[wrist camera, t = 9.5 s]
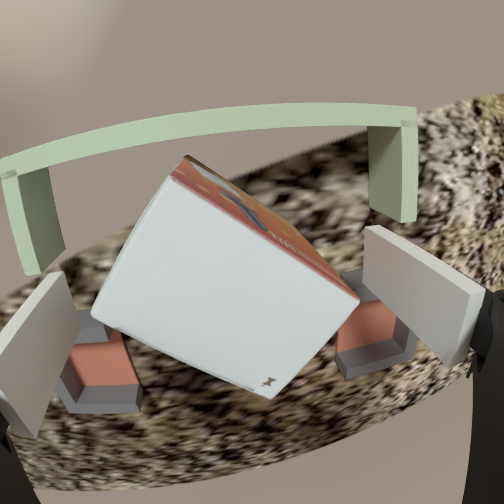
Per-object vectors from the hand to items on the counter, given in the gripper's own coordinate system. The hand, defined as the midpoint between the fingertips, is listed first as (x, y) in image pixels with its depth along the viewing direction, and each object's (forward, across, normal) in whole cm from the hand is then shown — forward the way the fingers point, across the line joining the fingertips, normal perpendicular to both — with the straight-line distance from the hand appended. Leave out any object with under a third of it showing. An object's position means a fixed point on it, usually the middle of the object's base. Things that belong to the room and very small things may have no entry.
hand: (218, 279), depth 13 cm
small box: (+8, 0, 0) cm, 8 cm away
